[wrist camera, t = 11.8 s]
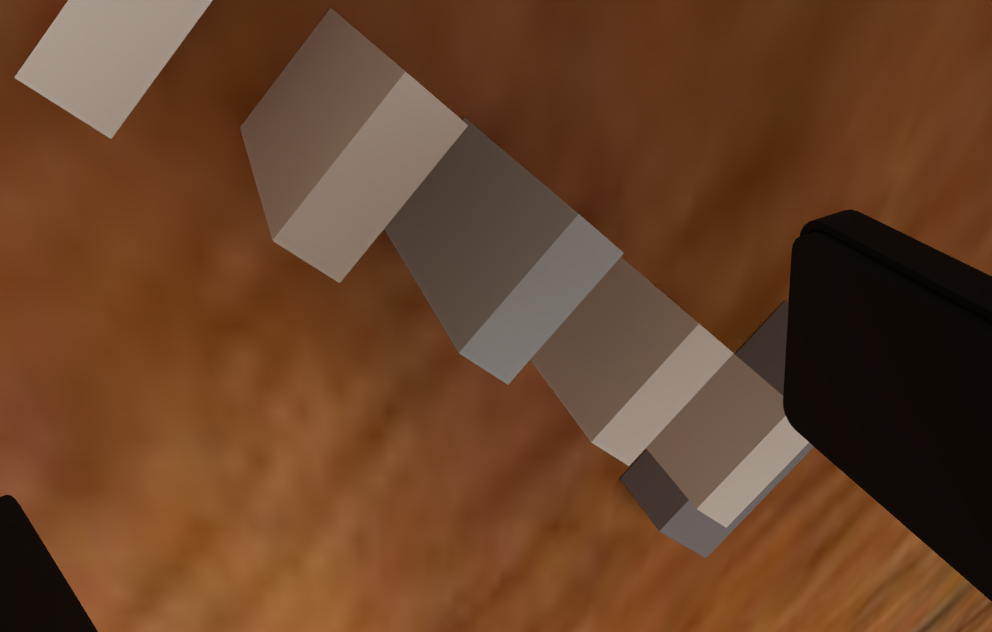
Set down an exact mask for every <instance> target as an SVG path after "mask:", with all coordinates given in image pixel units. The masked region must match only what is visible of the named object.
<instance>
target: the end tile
mask: <svg viewBox="0 0 992 632" xmlns="http://www.w3.org/2000/svg"><path fill="white" fill-rule="evenodd" d="M211 2H212V0H68V1H67V3H66V4H65V6H64V7H63V9H62V10H61V11H60V13H59V14H58V16H57V17H56V19H55V20H54V21H53V23H52V24H51V26H50V27H49V29H48V30H47V31H46V33H45V34H44V36H43V37H42V39H41V40H40V42H39V43H38V44H37V46H36V47H35V49H34V50H33V52H32V53H31V54H30V56H29V57H28V59H27V60H26V62H25V63H24V64H23V66H22V67H21V69H20V70H19V72H18V73H17V75H16V76H15V77H14V78H15V79H17V80H19V81H20V82H22V83H23V84H25V85H26V86H28V87H30V88H31V89H33V90H34V91H36V92H38V93H39V94H41V95H42V96H44V97H45V98H47V99H49V100H50V101H52V102H53V103H55V104H56V105H58V106H60V107H61V108H63V109H64V110H66V111H68V112H69V113H71V114H72V115H74V116H75V117H77V118H79V119H80V120H82V121H83V122H85V123H87V124H88V125H90V126H91V127H93V128H94V129H96V130H98V131H99V132H101V133H102V134H104V135H105V136H107V137H109V138H110V139H112V137H113V136H114V135H115V133H116V132H117V130H118V129H119V128H120V126H121V125H122V124H123V122H124V121H125V120H126V118H127V117H128V115H129V114H130V113H131V111H132V110H133V109H134V107H135V106H136V104H137V103H138V102H139V100H140V99H141V98H142V96H143V95H144V94H145V92H146V91H147V89H148V88H149V87H150V85H151V84H152V83H153V81H154V80H155V78H156V77H157V76H158V74H159V73H160V72H161V70H162V69H163V68H164V66H165V65H166V63H167V62H168V61H169V59H170V58H171V57H172V55H173V54H174V52H175V51H176V50H177V48H178V47H179V46H180V44H181V43H182V42H183V40H184V39H185V37H186V36H187V35H188V33H189V32H190V31H191V29H192V28H193V26H194V25H195V24H196V22H197V21H198V20H199V18H200V17H201V16H202V14H203V13H204V11H205V10H206V9H207V7H208V6H209V5H210V3H211Z"/></svg>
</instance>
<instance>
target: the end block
mask: <svg viewBox="0 0 992 632" xmlns="http://www.w3.org/2000/svg"><path fill="white" fill-rule="evenodd" d="M788 307H789V304H787V303H786V302H785V301H784V302H783V303H782V304H781V305H780V306H779V307H778V309H777V310H776V311H775V312H774V313H773V314H772V315H771V316H770V317H769V318H768V319H767V320H766V321H765V323H764V324H763V325H762V326H761V327H760V328H759V329H758V330H757V331H756V332H755V333H754V334H753V336H752V337H751V338H750V339H749V340H748V341H747V342H746V343H745V344H744V345H743V346H742V347H741V348H740V350H739V351H738V352H737V353H736V354H735V355H736V356H737V357H738V358H739V359H741V360H742V361H743V362H744V363H745V364H746V365H748V366H749V367H750V368H751V369H752V370H753V371H755V372H756V373H757V374H758V375H759V376H760V377H762V378H763V379H764V380H765V381H766V382H767V383H769V384H770V385H771V386H772V387H773V388H774V389H776V390H777V391H778V392H779V393H780V394H781V395H783V391H784V374H785V357H786V340H787V323H788ZM813 447H814V446H813V445H812V444H811V443H808V444H807V445H806V446H805V447H804V448H803V449H802V450H801V451H800V452H799V453H798V454H797V455H796V456H795V457H794V459H793V460H792V461H791V462H790V463H789V464H788V465H787V466H786V467H785V468H784V469H783V470H782V471H781V472H780V473H779V474H778V475H777V476H776V477H775V478H774V479H773V480H772V481H771V482H770V483H769V484H768V485H767V486H766V487H765V488H764V490H763V491H762V492H761V493H760V494H759V495H758V496H757V497H756V498H755V499H754V500H753V501H752V502H751V503H750V504H749V505H748V506H747V507H746V508H745V509H744V510H743V511H742V512H741V513H740V514H739V515H738V516H737V517H736V518H735V519H734V520H733V522H732V523H731V524H730V525H729V526H728V527H727V528H726V527H724V526H723V525H721V524H719V523H718V522H716V521H715V520H713V519H711V518H710V517H708V516H707V515H705V514H704V513H702V512H700V511H699V510H697V509H696V508H695V507H694V505H693V504H692V503H691V502H690V501H689V499H688V498H687V497H686V496H685V495H684V493H683V492H682V491H681V490H680V489H679V487H678V486H677V485H676V484H675V482H674V481H673V480H672V479H671V478H670V476H669V475H668V474H667V473H666V472H665V470H664V469H663V468H662V467H661V466H660V464H659V463H658V462H657V461H656V460H655V458H654V457H653V456H652V455H651V453H650V452H649V451H648V450H646V451H645V452H644V453H643V454H642V455H641V456H640V457H639V458H638V459H637V461H636V462H635V463H634V464H633V465H632V466H631V467H630V468H629V469H628V470H627V471H626V472H625V473H624V475H623V476H622V477H621V478H620V479H621V480H622V482H623V483H624V484H625V486H626V487H627V489H628V490H629V491H630V493H631V494H632V495H633V497H634V498H635V499H636V501H637V502H638V503H639V505H640V506H641V507H642V509H643V510H644V511H645V513H646V514H647V515H648V517H649V518H650V519H651V521H652V522H653V523H654V525H655V526H656V528H657V529H658V530H659V531H660V532H661V533H663V534H665V535H667V536H668V537H670V538H672V539H674V540H675V541H677V542H679V543H680V544H682V545H684V546H686V547H687V548H689V549H691V550H692V551H694V552H696V553H698V554H699V555H701V556H703V557H705V558H707V557H708V555H709V554H710V553H711V552H712V551H713V550H714V549H715V548H716V547H717V546H718V545H719V544H720V543H721V542H722V541H723V540H724V539H725V538H726V537H727V536H728V535H729V534H730V533H731V532H732V531H733V530H734V529H735V528H736V527H737V526H738V525H739V524H740V523H741V521H742V520H743V519H744V518H745V517H746V516H747V515H748V514H749V513H750V512H751V511H752V510H753V509H754V508H755V507H756V506H757V505H758V504H759V503H760V502H761V501H762V500H763V499H764V498H765V497H766V496H767V495H768V494H769V493H770V492H771V491H772V490H773V489H774V487H775V486H776V485H777V484H778V483H779V482H780V481H781V480H782V479H783V478H784V477H785V476H786V475H787V474H788V473H789V472H790V471H791V470H792V469H793V468H794V467H795V466H796V465H797V464H798V463H799V462H800V461H801V460H802V459H803V458H804V457H805V456H806V455H807V453H808V452H809V451H810V450H811V449H812V448H813Z"/></svg>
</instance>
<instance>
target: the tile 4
mask: <svg viewBox="0 0 992 632" xmlns="http://www.w3.org/2000/svg"><path fill="white" fill-rule="evenodd" d="M732 354H733V352H731V351H730V350H729V349H728V348H727V347H726V346H724V345H723V344H722V343H721V342H720V341H719V340H717V339H716V338H715V337H714V336H713V335H712V334H711V333H709V332H708V331H707V330H706V329H705V328H704V327H702V326H701V325H700V324H699V323H698V322H697V321H695V320H694V319H693V318H692V317H691V316H690V315H688V314H687V313H686V312H685V311H684V310H683V309H681V308H680V307H679V306H678V305H677V304H676V303H674V302H673V301H672V300H671V299H670V298H669V297H667V296H666V295H665V294H664V293H663V292H662V291H660V290H659V289H658V288H657V287H656V286H655V285H653V284H652V283H651V282H650V281H649V280H648V279H646V278H645V277H644V276H643V275H642V274H641V273H639V272H638V271H637V270H636V269H635V268H634V267H632V266H631V265H630V264H629V263H628V262H627V261H625V260H624V259H623V258H622V257H620V258H619V259H618V261H617V262H616V263H615V264H614V265H613V266H612V267H611V268H610V270H609V271H608V272H607V273H606V274H605V275H604V276H603V278H602V279H601V280H600V281H599V282H598V283H597V284H596V285H595V287H594V288H593V289H592V290H591V291H590V292H589V293H588V295H587V296H586V297H585V298H584V299H583V300H582V301H581V302H580V304H579V305H578V306H577V307H576V308H575V309H574V310H573V312H572V313H571V314H570V315H569V316H568V317H567V318H566V319H565V321H564V322H563V323H562V324H561V325H560V326H559V327H558V329H557V330H556V331H555V332H554V333H553V334H552V335H551V337H550V338H549V339H548V340H547V341H546V342H545V343H544V344H543V346H542V347H541V348H540V349H539V350H538V351H537V352H536V354H535V355H534V356H533V357H532V358H531V359H530V360H531V362H532V363H533V365H534V366H535V367H536V369H537V370H538V371H539V373H540V374H541V375H542V377H543V378H544V379H545V381H546V382H547V383H548V385H549V386H550V387H551V389H552V390H553V392H554V393H555V394H556V396H557V397H558V398H559V400H560V401H561V402H562V404H563V405H564V406H565V408H566V409H567V410H568V412H569V413H570V415H571V416H572V417H573V419H574V420H575V421H576V423H577V424H578V425H579V427H580V428H581V429H582V431H583V432H584V433H585V435H586V436H587V437H588V439H589V440H590V442H591V443H593V444H595V445H596V446H598V447H599V448H601V449H603V450H604V451H606V452H607V453H609V454H610V455H612V456H614V457H615V458H617V459H618V460H620V461H622V462H623V463H625V464H626V465H628V466H630V464H631V463H632V462H633V461H634V460H635V459H636V458H637V457H638V456H639V455H640V454H641V453H642V452H643V450H644V449H645V448H646V447H647V446H648V445H649V444H650V443H651V442H652V441H653V440H654V439H655V438H656V436H657V435H658V434H659V433H660V432H661V431H662V430H663V429H664V428H665V427H666V426H667V425H668V423H669V422H670V421H671V420H672V419H673V418H674V417H675V416H676V415H677V414H678V413H679V412H680V411H681V409H682V408H683V407H684V406H685V405H686V404H687V403H688V402H689V401H690V400H691V399H692V398H693V397H694V395H695V394H696V393H697V392H698V391H699V390H700V389H701V388H702V387H703V386H704V385H705V384H706V382H707V381H708V380H709V379H710V378H711V377H712V376H713V375H714V374H715V373H716V372H717V371H718V370H719V368H720V367H721V366H722V365H723V364H724V363H725V362H726V361H727V360H728V359H729V358H730V357H731V356H732Z"/></svg>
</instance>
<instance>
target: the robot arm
mask: <svg viewBox="0 0 992 632" xmlns="http://www.w3.org/2000/svg"><path fill="white" fill-rule="evenodd" d="M783 408H784V412H785V415H786V417H787V420H788V421H789V423H790V424H791V426H792V427H793V428H794V429H795V430H796V431H797V432H798V433H799V434H800V435H801V436H803V437H804V438H805V439H806V440H807V441H808V442H809V443H811V444H812V445H813V446H814V447H815V448H816V449H817V450H819V451H820V452H821V453H822V454H823V455H824V456H825V457H827V458H828V459H829V460H830V461H831V462H832V463H834V464H835V465H836V466H837V467H838V468H839V469H840V470H842V471H843V472H844V473H845V474H846V475H847V476H848V477H850V478H851V479H852V480H853V481H854V482H855V483H856V484H858V485H859V486H860V487H861V488H862V489H863V490H864V491H866V492H867V493H868V494H869V495H870V496H871V497H873V498H874V499H875V500H876V501H877V502H878V503H879V504H881V505H882V506H883V507H884V508H885V509H886V510H887V511H889V512H890V513H891V514H892V515H893V516H894V517H895V518H897V519H898V520H899V521H900V522H901V523H902V524H903V525H905V526H906V527H907V528H908V529H909V530H910V531H911V532H913V533H914V534H915V535H916V536H917V537H918V538H920V539H921V540H922V541H923V542H924V543H925V544H926V545H928V546H929V547H930V548H931V549H932V550H933V551H934V552H936V553H937V554H938V555H939V556H940V557H941V558H942V559H944V560H945V561H946V562H947V563H948V564H949V565H950V566H952V567H953V568H954V569H955V570H956V571H957V572H959V573H960V574H961V575H962V576H963V577H964V578H965V579H967V580H968V581H969V582H970V583H971V584H972V585H973V586H975V587H976V588H977V589H978V590H979V591H980V592H981V593H983V594H984V595H985V596H986V597H987V598H988V599H989V600H991V601H992V276H989V275H987V274H985V273H983V272H981V271H979V270H977V269H975V268H973V267H971V266H969V265H967V264H965V263H963V262H961V261H959V260H957V259H955V258H953V257H950V256H948V255H946V254H944V253H942V252H940V251H938V250H936V249H934V248H932V247H930V246H928V245H926V244H924V243H922V242H920V241H918V240H916V239H914V238H911V237H909V236H907V235H905V234H903V233H901V232H899V231H897V230H895V229H893V228H891V227H889V226H887V225H885V224H883V223H881V222H879V221H877V220H874V219H872V218H870V217H868V216H866V215H864V214H862V213H860V212H858V211H854V210H844V211H841V212H838V213H835V214H832V215H829V216H826V217H822V218H819V219H816V220H813V221H810V222H808V223H807V224H806V225H804V227H803V229H802V230H801V233H800V237H798V238H797V239H796V240H795V242H794V243H793V247H792V256H791V273H790V290H789V307H788V323H787V340H786V357H785V374H784V391H783ZM0 632H98V631H97V630H96V628H95V626H94V625H93V623H92V621H91V620H90V618H89V617H88V615H87V613H86V612H85V610H84V608H83V607H82V605H81V604H80V602H79V600H78V599H77V597H76V596H75V594H74V592H73V591H72V589H71V587H70V586H69V584H68V583H67V581H66V579H65V578H64V576H63V574H62V573H61V571H60V570H59V568H58V566H57V565H56V563H55V561H54V560H53V558H52V557H51V555H50V553H49V552H48V550H47V548H46V547H45V545H44V544H43V542H42V540H41V539H40V537H39V535H38V534H37V532H36V531H35V529H34V527H33V526H32V524H31V522H30V521H29V519H28V518H27V516H26V514H25V513H24V511H23V510H22V508H21V506H20V505H19V503H18V502H17V501H16V499H15V498H13V497H12V496H10V495H5V496H2V497H0Z"/></svg>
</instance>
